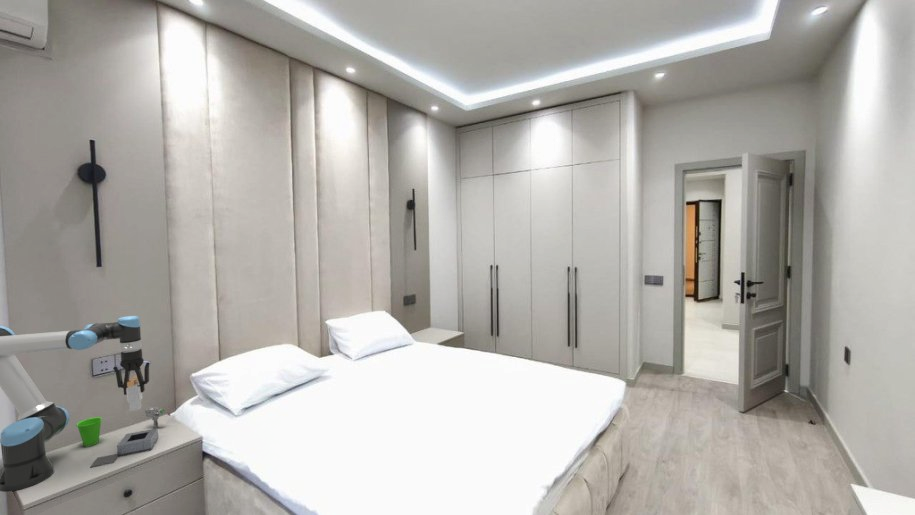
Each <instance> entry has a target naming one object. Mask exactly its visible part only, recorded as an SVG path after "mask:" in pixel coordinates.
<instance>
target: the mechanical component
mask: <svg viewBox="0 0 915 515" xmlns="http://www.w3.org/2000/svg"><path fill="white" fill-rule="evenodd" d="M144 413H145V416H146V417H150V418H152V419H151V420H152V421H153V429H156V428H158V427H159V423H158V421H159V420H158V419H159V418H160V417H162V416H164V415H165V409H164V408H160V409H159V407H154V406H153V407H151V406H150V407H147V408H145V409H144Z"/></svg>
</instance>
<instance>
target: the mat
mask: <svg viewBox="0 0 915 515" xmlns="http://www.w3.org/2000/svg"><path fill="white" fill-rule="evenodd" d="M118 458H119V457H118V454H117V453H114V454H109V455H108V454H107V455H102V456H99V457H96V458H95V460H93V463H91V465H90V466H89V468H91V469H92V468H96V467H100V466H105V465H111V464H114V463H115V462H116V460H117V459H118Z"/></svg>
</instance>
